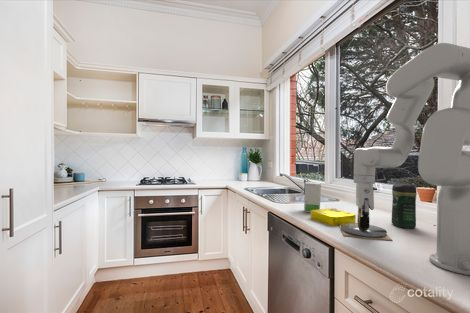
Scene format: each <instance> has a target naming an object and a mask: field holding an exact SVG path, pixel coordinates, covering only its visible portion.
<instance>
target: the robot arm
mask: <svg viewBox="0 0 470 313" xmlns="http://www.w3.org/2000/svg"><path fill="white" fill-rule="evenodd" d="M434 78H440V79H444V80H445V79H446V80H453V81H458V82H459V83H458V85H457V86H456V88H455V89H454V91H453V94H452V98H451V105H450V107H446V108H445V107H444V108H440V109H438V110H436V111H434V112H433V113H432V114H431V115H430V116H429V117H428V119H427V120H426V122H425V123H424V125H423V129H422V134H421V139H420V140H421V141H420V146H419V151H418V152H419V154H418V159H417V169H418V173H419V175H420V178H421V179H422V180H423V181H424V182H426V183H427V184H429V185H431V186H438V187H440V188H439V191H438V195H437V207H436V253H432V254H430V255H429V261H430V263H432V264H433V265H435V266H437V267H439V268H441V269H444V270H447V271H449V272H454V273H457V274H461V275H466V276H470V151H468V150H463V147H464V146H470V47H466V46H463V45H462V46H461V45H458V44H454V43H450V42H448V43H447V42H440V43H435V44H433V45H431V46H428V47H427V48H426V49H424V50H422V51H420V52H419V53H418V54H416V55H415V56H414V57H413V58H411V59H410V60H409V61H407V62H406V63H404V64H402V65H401V66H400V67H399V68H397V70H395V71H394V72H393V73H392V74H391V75H390V76H389V78H388V79H387V81H386V84H385V92H386V94H387V95H388V96H390V97H392V98H394V101H393V103H392V105H391V107H390V109H389V110H388V113H387V115H386V120H387V122H388V123H389V124H391V125H392V126H393V127H394V129H395V138H394V140H393V142H392V144H391V146H390V147H389V146H386V147H385V146H372V147H359V148H356V149H354V151H353V184H356V186H355V205H356V206H357V213H358V212H361V217H360V227H361V228H369V225H370V210H371V211H373V210H374V209H375V198H374V195H375V194H374V192H375V191H374V185H375V184H376V168H377V169H378V168H382V169H383V168H386V169H387V168H388V169H389V168H392V169H393V168H398V167H400V166H401V165H402V164H404V163H405V162H406V160H407V159H408V158H409V155H410V154H411V152H412V149H413V147H414V146H415V134H416V133H415V124H416V122H417V120H418V118H419V116H420V114H421V113H422V110H423V108H425V106H426V103H427V101H428V100H429V98H430V96H431V95H432V92H433V90H434V87H435V80H434Z"/></svg>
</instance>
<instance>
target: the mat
mask: <svg viewBox="0 0 470 313" xmlns="http://www.w3.org/2000/svg"><path fill="white" fill-rule="evenodd" d="M338 227H339V228H340V231H341V234H342V235H343V237H349V238H358V239H359V238H360V239H369V240H380V241H388V242H390V241H391V242H393V239H392V238H391V236H389V234H387V236H385V237H382V238H368V237H360V236H355V235H351V234H348V233H346V232H344V231H342V230H341V224H339V225H338Z"/></svg>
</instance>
